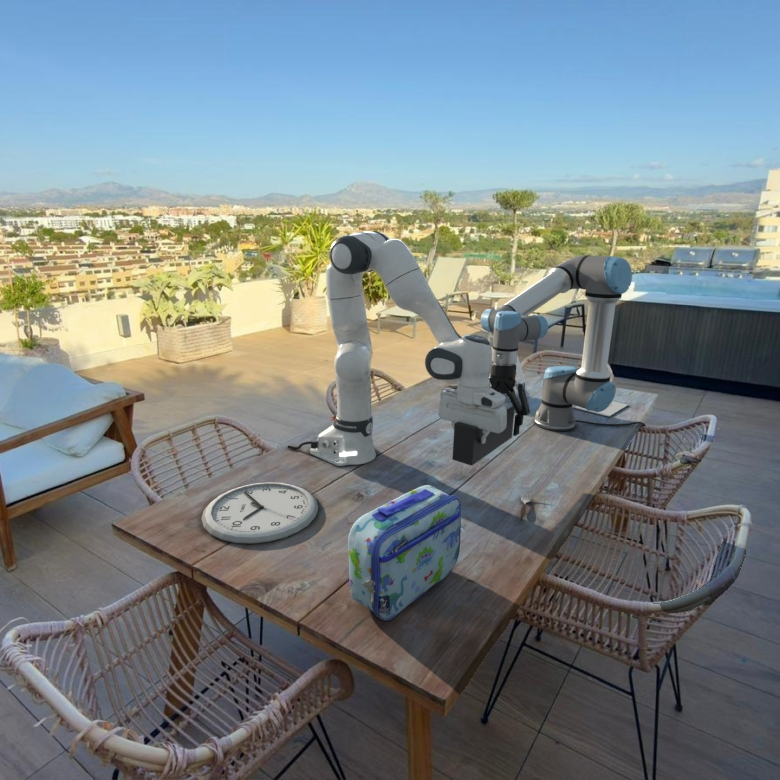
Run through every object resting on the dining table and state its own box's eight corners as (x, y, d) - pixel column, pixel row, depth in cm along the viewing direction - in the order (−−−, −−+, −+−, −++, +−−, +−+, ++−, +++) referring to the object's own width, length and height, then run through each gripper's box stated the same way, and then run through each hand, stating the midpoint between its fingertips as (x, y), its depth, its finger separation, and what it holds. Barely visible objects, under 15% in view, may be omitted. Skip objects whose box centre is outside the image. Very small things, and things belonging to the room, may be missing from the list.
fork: (515, 521, 136) (516, 514, 135) (522, 493, 150) (523, 487, 150) (525, 523, 135) (526, 516, 135) (531, 495, 150) (532, 489, 149)
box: (493, 432, 171) (496, 400, 167) (511, 437, 167) (515, 404, 164) (452, 459, 150) (454, 423, 147) (472, 465, 147) (474, 429, 143)
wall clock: (315, 535, 126) (186, 539, 123) (315, 541, 126) (187, 545, 123) (320, 478, 154) (216, 480, 152) (320, 483, 155) (216, 485, 152)
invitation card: (608, 416, 214) (573, 407, 224) (608, 416, 214) (573, 408, 224) (628, 404, 229) (594, 396, 238) (628, 405, 229) (594, 397, 238)
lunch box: (378, 635, 98) (379, 537, 91) (341, 606, 105) (340, 513, 99) (464, 574, 115) (470, 488, 109) (427, 553, 122) (431, 471, 116)
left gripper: (435, 388, 149) (433, 434, 153) (501, 403, 137) (497, 452, 142) (446, 384, 154) (444, 427, 158) (511, 398, 142) (507, 444, 146)
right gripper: (463, 359, 162) (459, 424, 169) (536, 372, 149) (529, 442, 156) (475, 354, 168) (470, 418, 175) (546, 367, 155) (538, 435, 161)
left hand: (469, 439), depth 150 cm, fingers closed on box, 6 cm apart
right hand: (498, 430), depth 165 cm, fingers open, 11 cm apart
